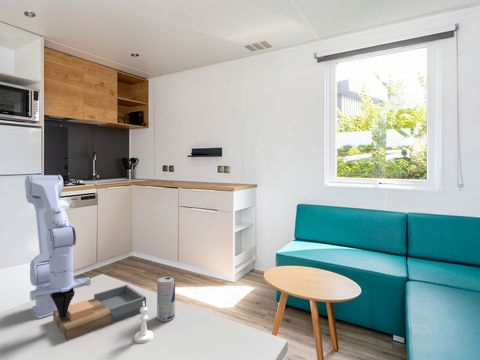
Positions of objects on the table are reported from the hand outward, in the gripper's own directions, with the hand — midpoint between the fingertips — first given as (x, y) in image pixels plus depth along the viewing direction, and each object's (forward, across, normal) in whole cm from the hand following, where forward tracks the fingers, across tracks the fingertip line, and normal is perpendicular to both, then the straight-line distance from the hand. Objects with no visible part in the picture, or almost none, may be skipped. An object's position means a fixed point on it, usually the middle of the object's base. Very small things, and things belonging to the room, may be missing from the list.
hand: (62, 316), depth 81 cm
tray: (+4, +16, 0) cm, 17 cm away
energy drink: (+4, +24, -15) cm, 29 cm away
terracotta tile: (+1, +4, 0) cm, 4 cm away
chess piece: (+4, +14, -20) cm, 25 cm away
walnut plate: (+4, +5, 0) cm, 7 cm away
